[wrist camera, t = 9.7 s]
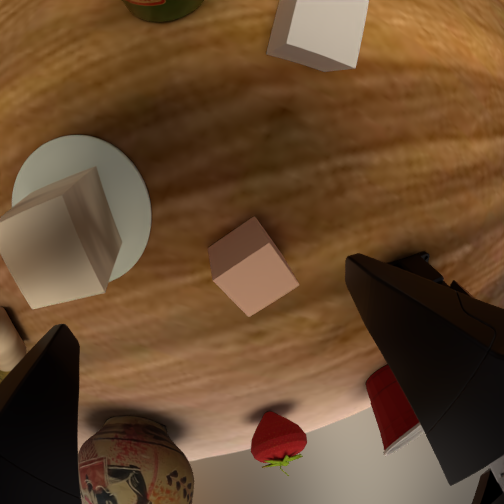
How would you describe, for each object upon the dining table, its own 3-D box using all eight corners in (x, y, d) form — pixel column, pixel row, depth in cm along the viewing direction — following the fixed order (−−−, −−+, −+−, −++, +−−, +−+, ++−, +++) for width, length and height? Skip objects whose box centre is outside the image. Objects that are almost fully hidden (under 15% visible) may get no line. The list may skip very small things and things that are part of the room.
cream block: (323, 72, 15) (355, 68, 12) (265, 54, 14) (286, 43, 11) (336, 12, 13) (369, -1, 10) (281, -8, 12) (304, -29, 9)
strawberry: (300, 407, 36) (322, 466, 27) (254, 426, 36) (270, 484, 28) (285, 394, 33) (309, 461, 24) (234, 415, 33) (250, 481, 25)
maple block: (122, 242, 18) (105, 292, 13) (59, 260, 17) (32, 309, 13) (96, 166, 15) (62, 194, 10) (30, 192, 14) (-12, 228, 10)
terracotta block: (281, 253, 22) (299, 285, 18) (238, 282, 22) (248, 317, 19) (254, 215, 20) (269, 242, 16) (207, 247, 20) (212, 280, 17)
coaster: (171, 263, 20) (170, 267, 20) (51, 292, 19) (49, 296, 18) (127, 110, 14) (126, 111, 14) (-3, 169, 13) (-7, 171, 13)
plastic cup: (407, 373, 40) (440, 425, 30) (352, 403, 40) (381, 461, 30) (415, 339, 34) (459, 400, 24) (350, 375, 34) (387, 447, 24)
